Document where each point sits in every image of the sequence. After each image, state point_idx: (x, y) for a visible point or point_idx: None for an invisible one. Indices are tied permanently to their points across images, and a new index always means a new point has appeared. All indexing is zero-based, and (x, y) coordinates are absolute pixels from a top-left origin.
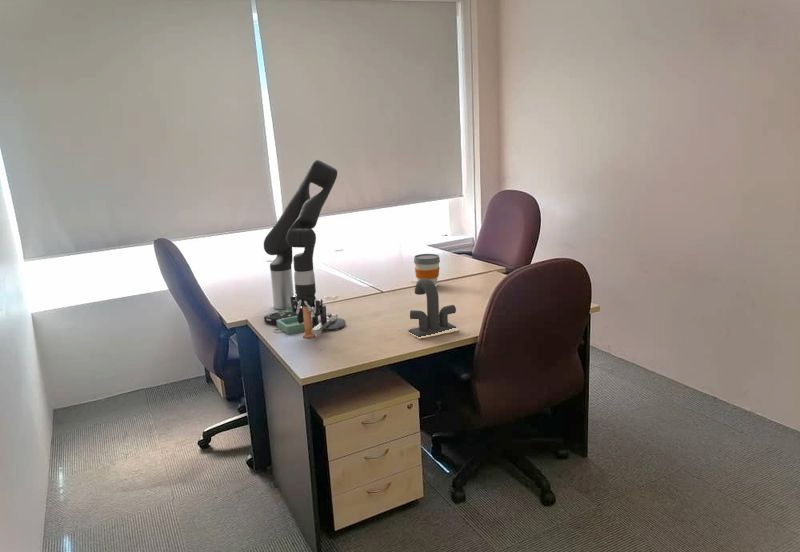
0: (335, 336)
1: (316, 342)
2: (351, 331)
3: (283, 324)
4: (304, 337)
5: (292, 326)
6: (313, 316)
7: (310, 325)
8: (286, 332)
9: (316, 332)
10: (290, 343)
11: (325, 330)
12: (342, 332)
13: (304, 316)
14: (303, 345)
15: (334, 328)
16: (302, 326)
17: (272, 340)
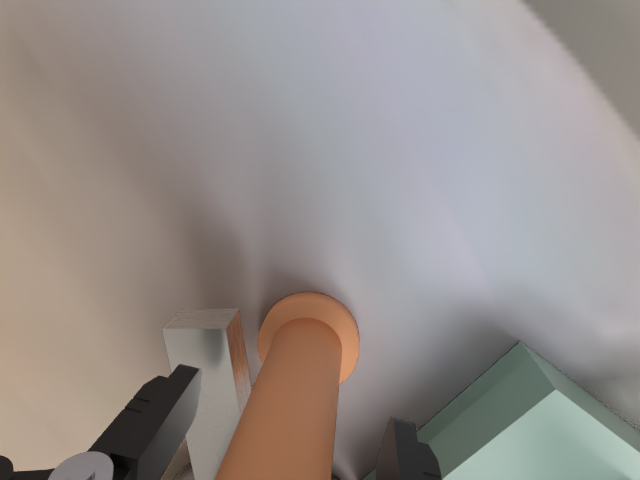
0: (112, 362)
1: (169, 216)
2: None
3: (633, 450)
4: (328, 296)
5: (506, 420)
6: (94, 460)
7: (252, 391)
8: (546, 363)
9: (183, 316)
10: (384, 135)
11: None
12: None
13: (280, 477)
14: (235, 117)
15: (182, 476)
16: None
17: (617, 168)
